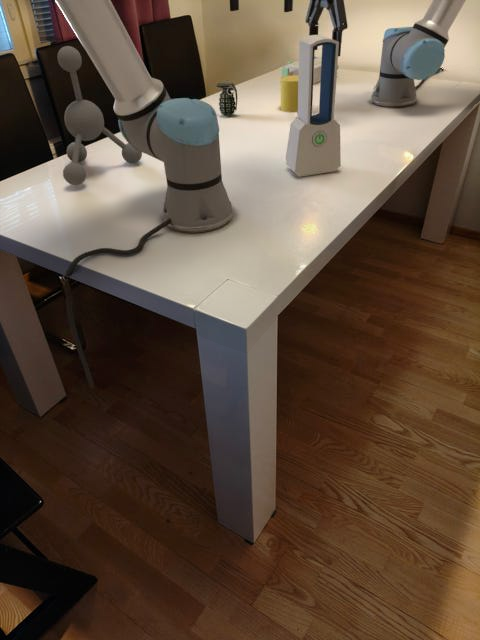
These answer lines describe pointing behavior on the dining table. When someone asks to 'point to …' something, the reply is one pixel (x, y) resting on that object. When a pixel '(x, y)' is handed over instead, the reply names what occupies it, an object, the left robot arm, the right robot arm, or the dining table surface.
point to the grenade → (227, 99)
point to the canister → (289, 93)
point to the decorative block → (294, 69)
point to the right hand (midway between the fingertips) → (323, 53)
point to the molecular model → (85, 123)
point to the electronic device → (321, 129)
